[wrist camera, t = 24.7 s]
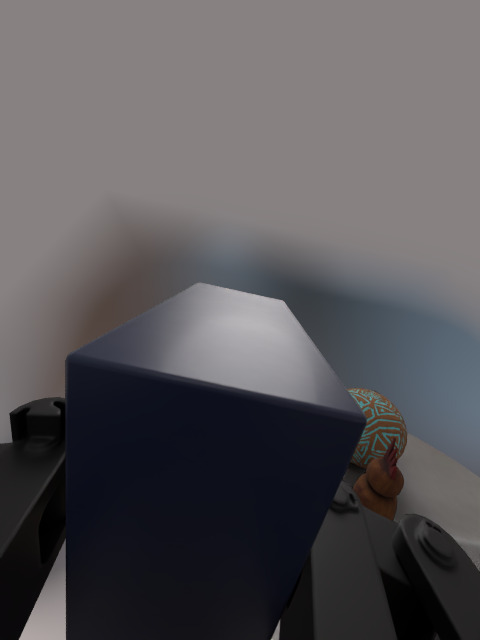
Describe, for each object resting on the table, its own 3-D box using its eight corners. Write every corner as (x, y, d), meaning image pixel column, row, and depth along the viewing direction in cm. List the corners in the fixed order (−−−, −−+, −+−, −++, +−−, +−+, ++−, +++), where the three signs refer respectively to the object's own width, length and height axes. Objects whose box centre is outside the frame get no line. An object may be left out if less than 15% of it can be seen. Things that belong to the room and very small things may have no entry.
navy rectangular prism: (216, 767, 5) (372, 419, 3) (45, 736, 5) (20, 346, 3) (234, 483, 12) (284, 300, 9) (159, 467, 12) (186, 279, 9)
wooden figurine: (351, 492, 41) (381, 424, 37) (387, 520, 38) (424, 447, 34) (338, 521, 36) (371, 445, 32) (378, 555, 33) (421, 475, 28)
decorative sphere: (306, 453, 48) (327, 390, 44) (326, 419, 60) (344, 368, 56) (387, 506, 40) (422, 436, 36) (392, 454, 52) (418, 398, 48)
